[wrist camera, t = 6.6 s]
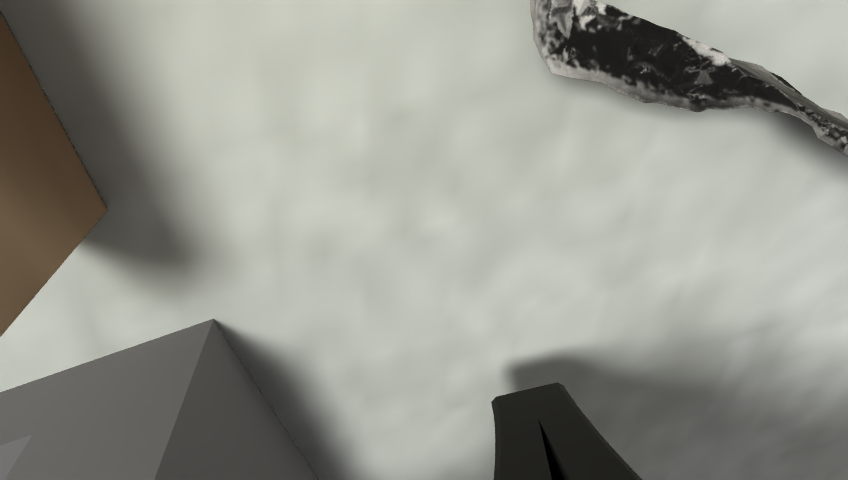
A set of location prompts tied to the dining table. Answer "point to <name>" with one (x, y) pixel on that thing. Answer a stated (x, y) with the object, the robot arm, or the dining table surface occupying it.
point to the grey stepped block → (149, 418)
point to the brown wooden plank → (35, 186)
